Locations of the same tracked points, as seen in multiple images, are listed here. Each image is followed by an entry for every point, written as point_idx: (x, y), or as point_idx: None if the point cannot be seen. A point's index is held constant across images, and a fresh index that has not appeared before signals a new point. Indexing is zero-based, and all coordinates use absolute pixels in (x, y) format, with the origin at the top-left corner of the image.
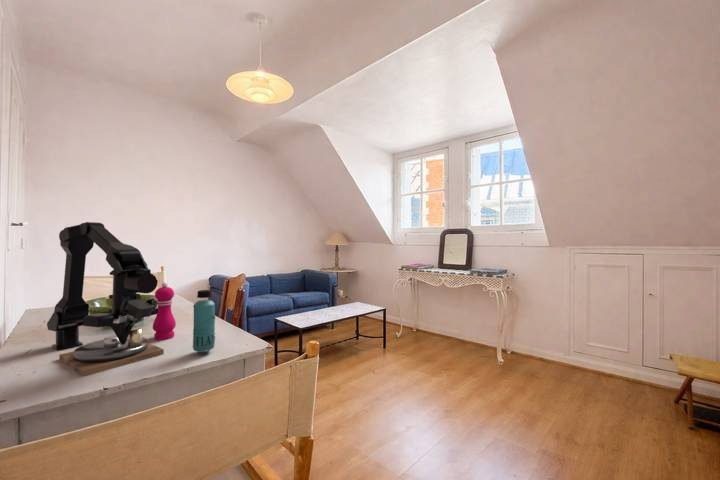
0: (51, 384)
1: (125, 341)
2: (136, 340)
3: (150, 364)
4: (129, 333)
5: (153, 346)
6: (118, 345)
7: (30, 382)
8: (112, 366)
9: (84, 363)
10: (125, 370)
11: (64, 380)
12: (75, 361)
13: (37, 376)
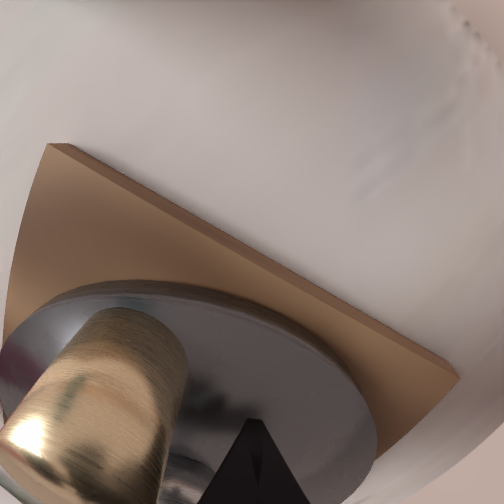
0: (483, 392)
1: (249, 434)
2: (141, 370)
3: (281, 84)
4: (201, 498)
5: (22, 274)
6: (169, 457)
7: (443, 453)
8: (366, 317)
9: None
10: (398, 198)
11: (463, 387)
12: None
13: (398, 477)
